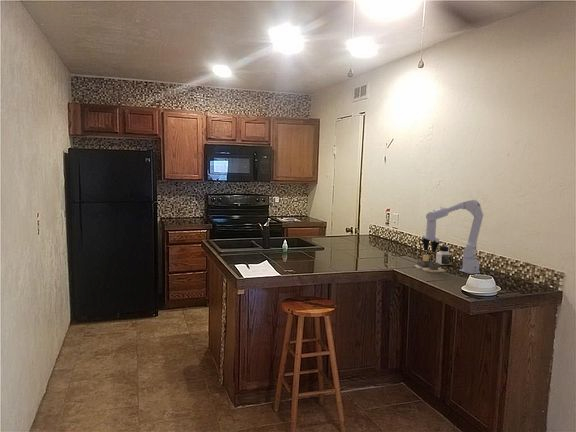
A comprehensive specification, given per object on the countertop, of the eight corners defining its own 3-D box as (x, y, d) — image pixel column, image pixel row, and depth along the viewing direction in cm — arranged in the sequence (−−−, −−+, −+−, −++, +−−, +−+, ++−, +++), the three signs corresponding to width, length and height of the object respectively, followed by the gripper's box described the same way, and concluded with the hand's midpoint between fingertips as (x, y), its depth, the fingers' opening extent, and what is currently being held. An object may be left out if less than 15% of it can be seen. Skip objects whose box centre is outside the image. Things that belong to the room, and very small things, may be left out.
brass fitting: (429, 266, 280) (430, 255, 279) (424, 266, 279) (425, 256, 278) (425, 265, 284) (426, 254, 283) (421, 265, 282) (421, 254, 281)
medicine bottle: (441, 264, 291) (442, 246, 289) (435, 262, 298) (436, 244, 296) (451, 264, 292) (452, 246, 291) (445, 262, 299) (446, 244, 298)
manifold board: (445, 271, 272) (445, 265, 271) (430, 272, 268) (430, 266, 267) (427, 265, 287) (428, 259, 287) (413, 266, 284) (413, 260, 283)
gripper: (418, 229, 290) (417, 249, 291) (433, 232, 276) (431, 253, 278) (427, 228, 292) (426, 249, 294) (442, 232, 279) (441, 253, 280)
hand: (429, 251), depth 286 cm, fingers open, 7 cm apart
